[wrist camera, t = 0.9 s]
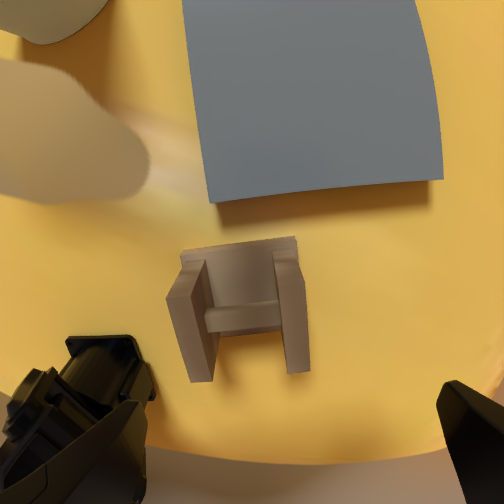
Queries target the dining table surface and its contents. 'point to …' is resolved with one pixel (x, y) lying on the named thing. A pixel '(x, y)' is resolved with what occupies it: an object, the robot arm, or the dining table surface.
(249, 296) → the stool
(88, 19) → the can
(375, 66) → the slab
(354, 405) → the dining table surface
